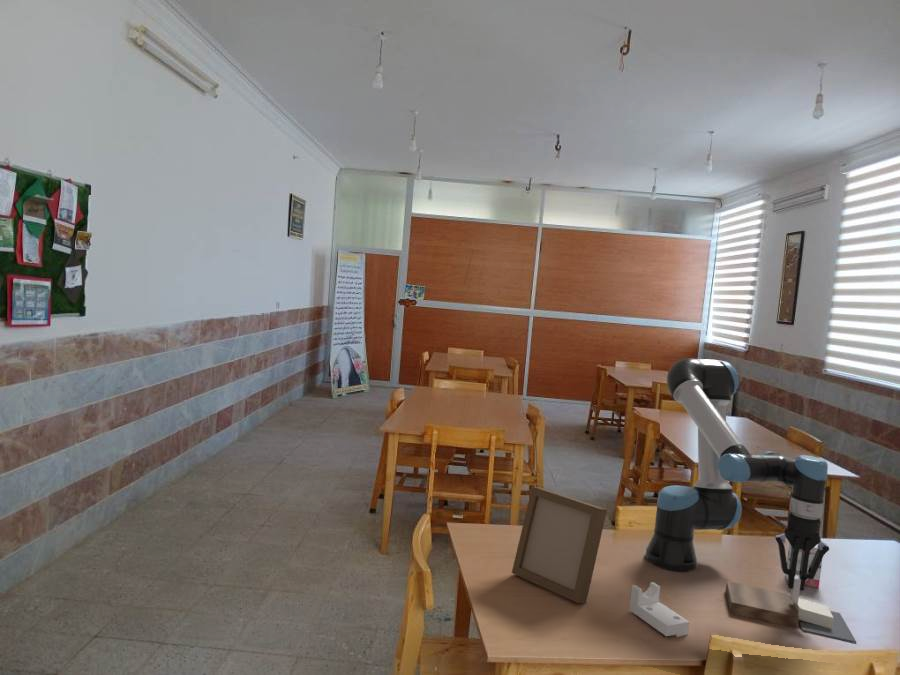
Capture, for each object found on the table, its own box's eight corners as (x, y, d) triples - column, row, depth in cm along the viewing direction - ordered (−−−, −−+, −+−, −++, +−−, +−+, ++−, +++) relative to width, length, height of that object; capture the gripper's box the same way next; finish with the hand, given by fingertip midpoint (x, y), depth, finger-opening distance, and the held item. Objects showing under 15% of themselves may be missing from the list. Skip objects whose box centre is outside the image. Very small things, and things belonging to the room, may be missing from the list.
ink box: (815, 581, 195) (820, 543, 194) (819, 588, 190) (824, 549, 189) (784, 575, 197) (788, 538, 197) (786, 581, 193) (791, 543, 192)
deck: (730, 613, 169) (731, 602, 169) (725, 591, 182) (726, 581, 182) (797, 628, 164) (798, 617, 163) (787, 604, 177) (788, 594, 177)
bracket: (629, 613, 164) (632, 585, 164) (649, 609, 167) (653, 582, 167) (665, 640, 152) (669, 609, 152) (687, 635, 156) (691, 605, 155)
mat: (802, 631, 162) (802, 629, 162) (790, 603, 178) (791, 602, 178) (856, 643, 159) (856, 641, 159) (839, 614, 174) (839, 613, 174)
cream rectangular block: (796, 618, 167) (799, 608, 166) (792, 607, 173) (794, 596, 173) (831, 628, 164) (833, 618, 164) (824, 616, 171) (827, 606, 170)
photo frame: (577, 606, 165) (588, 512, 163) (511, 576, 179) (520, 489, 178) (606, 591, 176) (616, 502, 174) (541, 563, 190) (550, 481, 189)
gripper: (780, 514, 167) (769, 600, 169) (836, 524, 163) (824, 612, 164) (775, 506, 174) (765, 589, 176) (829, 515, 170) (818, 600, 171)
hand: (793, 600), depth 170 cm, fingers closed
